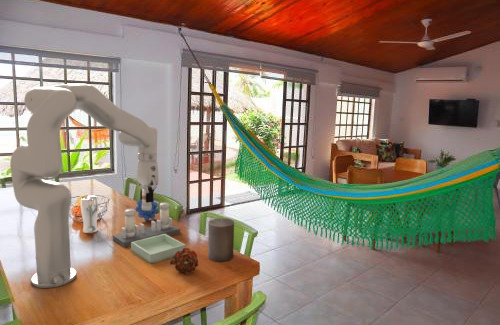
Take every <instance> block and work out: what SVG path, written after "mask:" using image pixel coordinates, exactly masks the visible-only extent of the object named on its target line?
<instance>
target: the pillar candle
mask: <svg viewBox="0 0 500 325" xmlns="http://www.w3.org/2000/svg"><path fill="white" fill-rule="evenodd" d="M207 224H208V234H207V235H208V237H207V238H208V243H207V248H208V249H207V257H208V258H209V260H210V261H213V262H219V263H220V262H228V261H230V260H233V259H234V245H235V244H234V243H235V239H234V238H235V221H234V220H232V219H231V218H223V217H221V218H220V217H219V218H212V219H210V220H209V221H208V223H207Z"/></svg>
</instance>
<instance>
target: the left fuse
mask: <svg viewBox="0 0 500 325" xmlns="http://www.w3.org/2000/svg"><path fill="white" fill-rule="evenodd" d="M135 225H136V210H135V209H134V208H126V209H125V210H124V228H125V229H126V238H133V237H135Z"/></svg>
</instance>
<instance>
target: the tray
mask: <svg viewBox="0 0 500 325" xmlns="http://www.w3.org/2000/svg"><path fill="white" fill-rule="evenodd" d="M183 248H186V244H185V243H183V242H181V241H179V240H178V239H176V238H174V237H172V236H168V235H166V234H162V235H158V236H154V237H150V238H146V239H142V240H138V241H134V242H131V246H130V251H131V252H132V253H133V254H135V255H137V256H138V257H139V258H141V259H142V260H144V261H146V262H147V263H149V264H150V265H152V264H155V263H158V262H161V261H162V262H163V261H165V260H168V259H173V258H172V257H174V254H175V253H176V252H177V251H182V250H183ZM174 258H175V257H174Z"/></svg>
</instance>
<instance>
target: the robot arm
mask: <svg viewBox="0 0 500 325" xmlns="http://www.w3.org/2000/svg"><path fill="white" fill-rule="evenodd" d="M24 105H25V107H26V109H27V110H28V111H29V112H31V114H32V115H31V116H30V118H29V119H28V122H27V126H26V138H27V141H26V142H27V144H23V145H19V146H18V147H16V149H14V151H13V152H12V155H11V157H10V163H9V164H10V166H9V167H10V174H11V181H12V186H13V193H14V197H15V200H16V201H17V203H18V204H19V205H21V206H22V207H24V208H28V209H31V210H35V211H37V216H36V218H35V221H34V227H33V228H34V229H33V230H34V231H33V232H34V246H35V249H34V250H35V268H36V273H35V274H34V275H33V276H32V277H31V278H30V279H31V284H32V286H34V287H36V288H39V289H40V288H41V289H51V288H57V287H62V286H64V285H67V284H68V283H71V282H72V281H73V280H75V279H76V277H77V271H76V269H75V268H72V267H71V247H70V246H71V240H70V209H71V205H72V193H71V190H70V189H69V187H68V186H66V185H64V183H61V182H57V181H54V180H53V181H52V180H47V179H53V178H56V177H58V176H59V175H60V174H61V173H62V171H63V167H64V165H63V163H64V162H63V155H62V146H61V144H62V143H61V128H62V126H63V123H64V121H66V119H67V118H68V117H69V116H70V115H71V114H72V113H73V112H74V111H75V110H80V111H82V112H84V113H85V114H87V115H88V116H89V117H90V118H92V119H93V120H95V121H96V122H97V123H98V124H99V125H101V126H102V127H104V128H107V129H109V130H111V131H114V132H115V131H116V132H118V140H119V142H120V143H122V145H125V146H129V147H137V171H136V172H137V173H136V180H137V183H138V186H139V192H140V193H139V196H140V198H139V200H142V184H144V185H146V188H147V193H146V202H147V203H148V202H153V199H154V193H155V189H158V185H159V166H158V161H157V160H158V130H157V128H155V127H151V126H149V125H148V124H147V123H146V122H145V121H143V119H141V118H139V117H137V116H135V115H133V114H131V113H129V112H127V111H126V110H124V109H121V107H120V108H119V107H118V106H117V105H116V104H115V103H114V102H112V101H111V100H110V99H109V98H108V97H107V96H105V94H103V93H102V92H101V91H100V90H99V89H98V88H96V87H95V86H93V85H91V84H87V83H67V84H65V83H64V84H57V85H49V86H48V85H47V86H40V87H39V86H38V87H33V88H31V89H29V90H28V91H27V92H26V94H25V96H24ZM150 184H151V185H150ZM149 187H150V189H149Z"/></svg>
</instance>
